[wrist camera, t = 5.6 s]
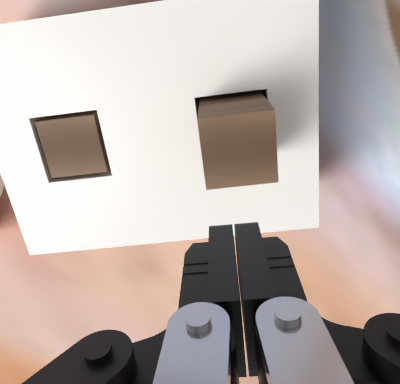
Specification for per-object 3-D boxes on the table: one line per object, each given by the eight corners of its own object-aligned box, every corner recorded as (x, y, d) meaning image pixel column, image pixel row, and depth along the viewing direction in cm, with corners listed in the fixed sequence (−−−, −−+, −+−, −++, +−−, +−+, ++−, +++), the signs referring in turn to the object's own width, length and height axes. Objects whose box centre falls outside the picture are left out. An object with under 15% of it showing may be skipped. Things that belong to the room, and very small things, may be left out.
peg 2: (200, 96, 26) (197, 119, 19) (258, 89, 25) (275, 109, 19) (207, 152, 27) (206, 190, 21) (262, 146, 27) (278, 182, 20)
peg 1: (71, 103, 31) (34, 122, 25) (117, 97, 31) (93, 114, 24) (83, 149, 33) (51, 178, 26) (127, 143, 32) (107, 172, 26)
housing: (13, 31, 30) (-51, 31, 22) (290, -9, 28) (318, -23, 21) (66, 209, 36) (29, 255, 29) (295, 185, 34) (318, 227, 27)
